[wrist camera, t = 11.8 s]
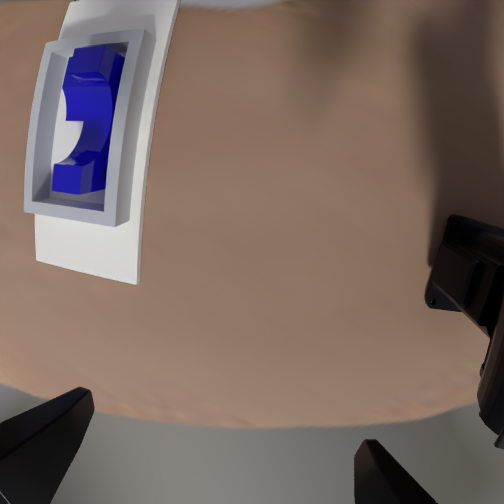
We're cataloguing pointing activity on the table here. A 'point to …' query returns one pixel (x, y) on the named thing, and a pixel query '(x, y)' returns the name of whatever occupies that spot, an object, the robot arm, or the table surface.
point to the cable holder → (89, 118)
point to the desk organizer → (121, 145)
